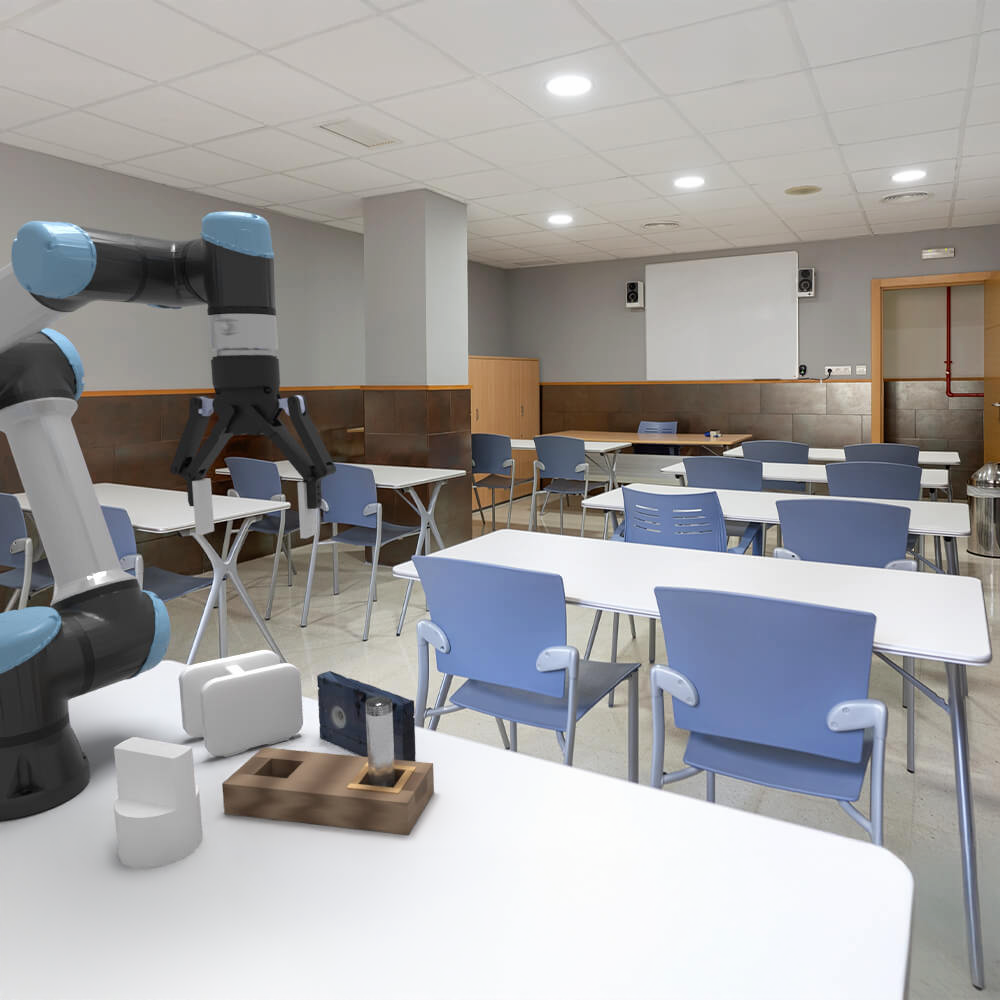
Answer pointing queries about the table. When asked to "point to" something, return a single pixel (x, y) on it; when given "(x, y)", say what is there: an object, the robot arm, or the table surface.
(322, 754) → the mount block
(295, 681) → the cable organizer
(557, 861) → the table surface
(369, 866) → the table surface
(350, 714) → the vhs cassette tape
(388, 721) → the lock pin
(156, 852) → the cylinder with rectangular tab
